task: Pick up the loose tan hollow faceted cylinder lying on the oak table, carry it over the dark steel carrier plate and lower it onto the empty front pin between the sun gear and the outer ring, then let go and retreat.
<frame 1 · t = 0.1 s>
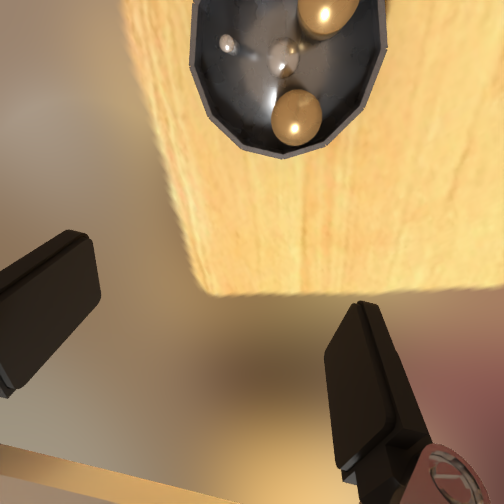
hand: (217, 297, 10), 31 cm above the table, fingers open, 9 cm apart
carrier: (283, 60, 31), on the table
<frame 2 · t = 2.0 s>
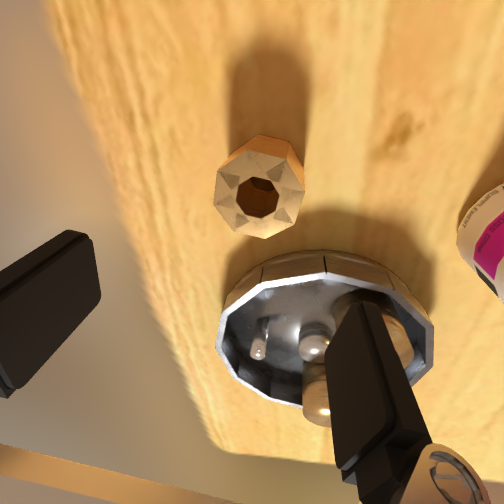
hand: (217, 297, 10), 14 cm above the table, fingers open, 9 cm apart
tan hollow faceted cylinder: (265, 174, 20), on the table
carrier: (315, 326, 29), on the table
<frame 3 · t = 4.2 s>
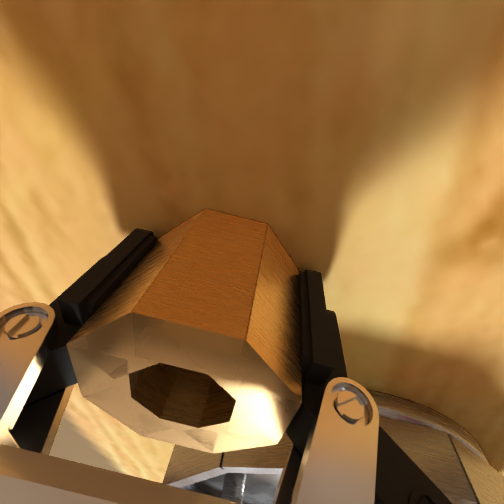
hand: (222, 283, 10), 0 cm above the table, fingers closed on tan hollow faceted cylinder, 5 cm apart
tan hollow faceted cylinder: (225, 275, 11), on the table, touching gripper
carrier: (318, 466, 19), on the table
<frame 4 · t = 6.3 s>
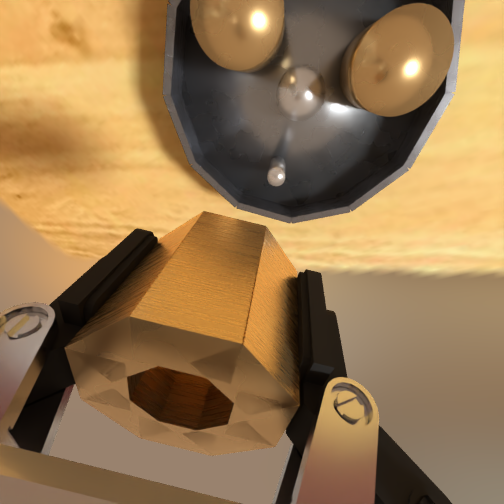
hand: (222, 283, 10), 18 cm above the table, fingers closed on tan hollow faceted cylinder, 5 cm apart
tan hollow faceted cylinder: (224, 277, 11), point 18 cm above the table, touching gripper
carrier: (298, 92, 22), on the table
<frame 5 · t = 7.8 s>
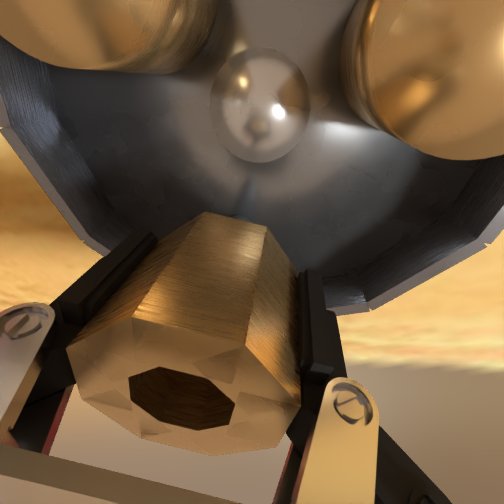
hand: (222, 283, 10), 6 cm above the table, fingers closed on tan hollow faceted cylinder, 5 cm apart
tan hollow faceted cylinder: (225, 277, 11), point 6 cm above the table, touching gripper
carrier: (266, 105, 12), on the table
when the fingers open (3 cm above the table, at t = 8.8 s): tan hollow faceted cylinder stays where it is, resting on carrier.
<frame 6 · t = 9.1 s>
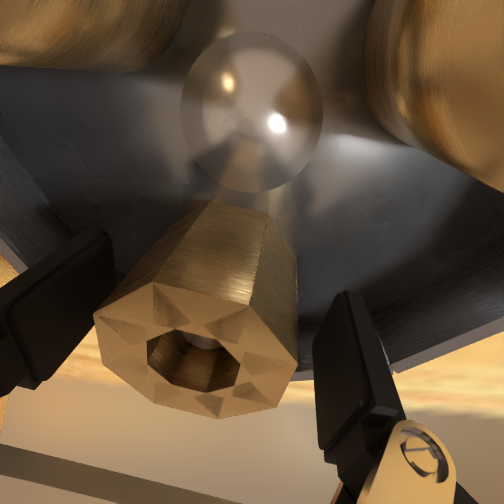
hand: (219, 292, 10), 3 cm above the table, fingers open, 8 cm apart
tan hollow faceted cylinder: (229, 262, 12), point 1 cm above the table, touching carrier
carrier: (262, 112, 9), on the table
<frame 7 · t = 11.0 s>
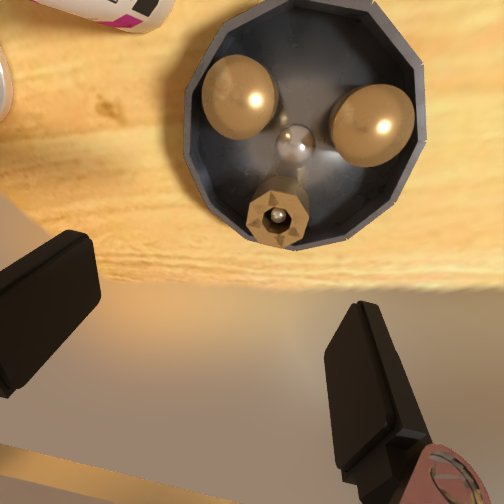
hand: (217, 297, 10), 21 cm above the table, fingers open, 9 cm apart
tan hollow faceted cylinder: (280, 201, 28), point 1 cm above the table, touching carrier
carrier: (295, 141, 26), on the table
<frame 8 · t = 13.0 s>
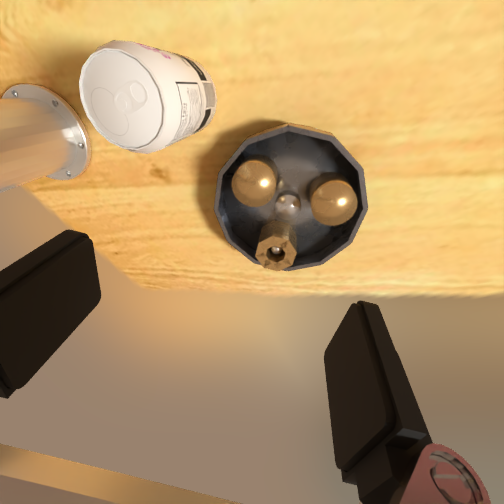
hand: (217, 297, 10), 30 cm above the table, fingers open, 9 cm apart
tan hollow faceted cylinder: (277, 237, 41), point 1 cm above the table, touching carrier
supplement can: (187, 96, 34), on the table
carrier: (288, 199, 39), on the table
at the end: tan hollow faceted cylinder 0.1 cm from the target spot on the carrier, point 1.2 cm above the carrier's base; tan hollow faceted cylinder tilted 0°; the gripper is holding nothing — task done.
